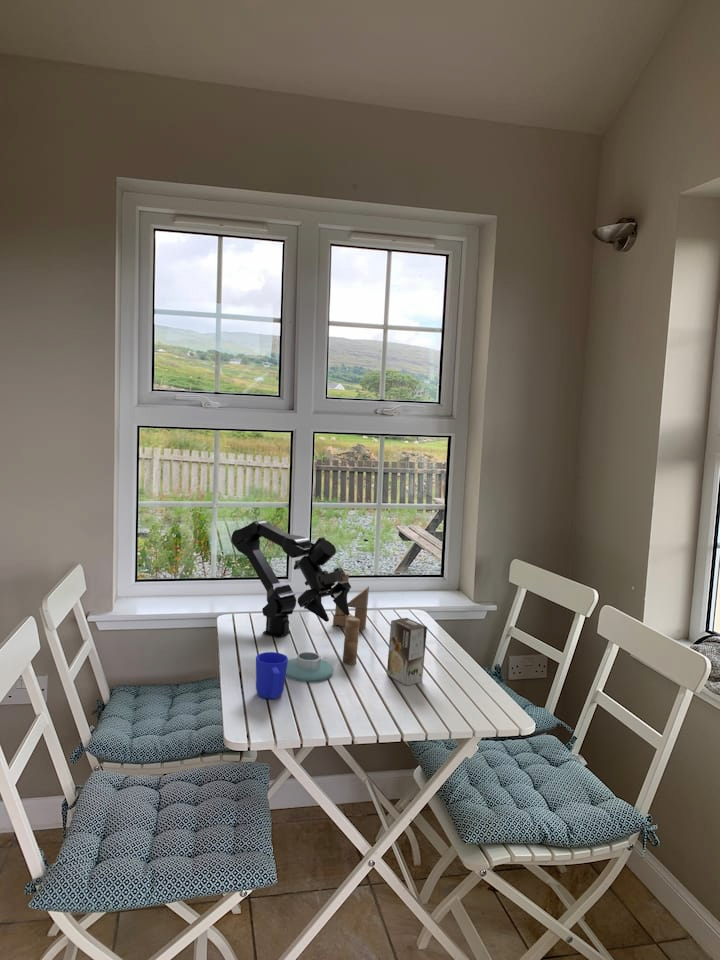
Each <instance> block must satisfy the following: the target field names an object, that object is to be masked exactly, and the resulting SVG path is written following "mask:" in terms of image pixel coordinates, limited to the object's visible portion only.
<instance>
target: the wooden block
mask: <svg viewBox="0 0 720 960" xmlns="http://www.w3.org/2000/svg"><path fill="white" fill-rule="evenodd" d="M344 573H345V577H343V581H347V582H349V580H350V579H349V577H350V573H349V572H345V571H344ZM343 581H337V583H339V582H343ZM369 593H370V586H369V585H368V586H367V587H366V588H365V589H363V590H362V591H360V592H359V593H358V594H357V595H356V596H355V597H353V598H352V599H351V600H350V601H347V603H348V608H354V615H352V613H351V614H350V613H349V615H348V616H346V615H345V614H344V613H343V612H342V611H341V609H340V608H339V607H338V606H337V605H336V604H335V612H334V614H333V617H332V618H333V619H332V626H335V625H339V626H338V627H342V626H344V627H343V628H345V627H346V618H349V617H354V618H358V619H360V623H359V630H363V629H364V630H365V629H366V626H367V615H368V605H369V602H368V601H369Z"/></svg>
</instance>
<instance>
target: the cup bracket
mask: <svg viewBox="0 0 720 960" xmlns="http://www.w3.org/2000/svg"><path fill="white" fill-rule="evenodd" d="M333 672H334V667H333V665H332V664H331V663H330V662H328V661H326V660H323V659H322V657H321V655H320V654H319V653H316V652H311V651H310V652H309V651H304V652H299V653H297V654H296V658H295V657H294V658H290V659H288V663H287V669H286V676H285V677H287V678H289V679H291V678H292V680H294V679H295V680H294V681H298V680H300V681H299V682H304V681H305V682H307V683H315V682H314V681H318V682H322V681H326V680H328V679H330V678H332V676H333Z"/></svg>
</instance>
